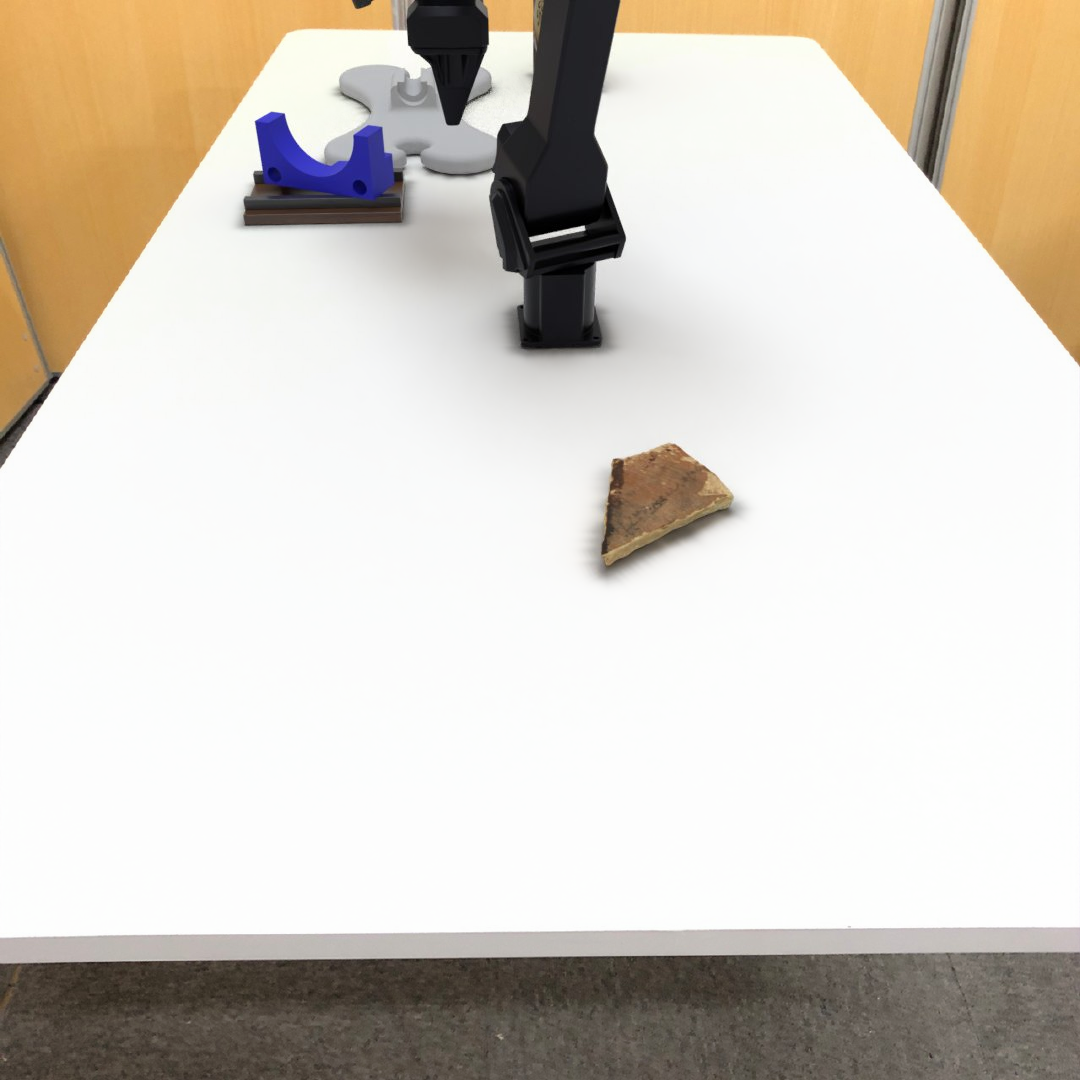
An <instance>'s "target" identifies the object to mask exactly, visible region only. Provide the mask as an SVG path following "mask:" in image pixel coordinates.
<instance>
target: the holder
mask: <svg viewBox="0 0 1080 1080" xmlns="http://www.w3.org/2000/svg"><path fill="white" fill-rule="evenodd" d="M338 85H339V90H340V91H341V93H343V94H344V95H345V96H347V97H350V98H351V99H354V100H356V101H358V102H360V103H362V104H363V105H364V106H366V107H367V108H368V109H369V110H370V115H369V116H368V117H367V119H366V120H365V121H363V123H361V124H359V125H358V126H357V127H356V128H354V129H352V130H350V131H348V132H346V133H344V134H341V135H339V136H337V137H334V138H333V139H331V140H330V141H328V142H327V144H326V145H325V147H324V149H323V157H324V161H325V164H326V165H330V166H332V165H333V164H335V163H336V162H338V161H349V159H350V157H351V154H352V150H353V135H354V134H355V133H357V132H358V131H360V130H361V129H363V128H364V127H366V126H367V125H372V126H380V127H382V128H383V140H384V152H385V153H392V159H393V168H404V167H405V166H406V165H407V161H408V158H407V155H420V163H421V165H422V166H424V167H425V168H427V169H428V170H432V171H434V172H438V173H441V174H449V175H469V174H476V173H482V172H485V171H488V170H490V169H492V167H493V165H494V163H495V158H496V150H497V137H495V136H494V135H492V134H490V133H487V132H484V131H483V130H480V129H478V128H476V127H474V126H473V125H471V124H470V123H468V122H466V121H465V120H464V119H463V118H462V119H461V122H460V124H459V125H457V126H448V125H447V124H446V122H445V118H444V114H443V110H442V106H441V102H440V98H439V94H438V90H437V87H436V83H435V79H434V75H433V71H432V68H431V66H430V67H427V68H425V67H420V76H419V77H417V78H411V75H410V72H409V71H408V70H406V68H405V67H400V66H396V65H391V64H390V65H389V64H366V65H365V64H364V65H360V66H359V65H358V66H355V67H351V68H348V69H346V70H345V71H343V72H342V73H341V74H340V75H339V78H338ZM491 87H492V75H491V73H490V71H489V70H487V69H486V68H485V67H483V66H480V69H479V71H478V74H477V77H476V79H475V82H474V85H473V88H472V90H471V93H470V96H469V99H468V102H470V101H471V100H474V99H475V98H477V97H480V96H481V95H484V94H486V93H487V92H488V91H489V90H490V89H491Z"/></svg>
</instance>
